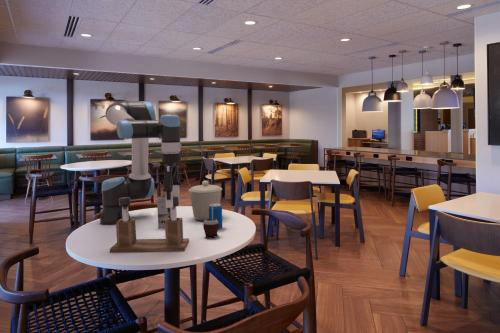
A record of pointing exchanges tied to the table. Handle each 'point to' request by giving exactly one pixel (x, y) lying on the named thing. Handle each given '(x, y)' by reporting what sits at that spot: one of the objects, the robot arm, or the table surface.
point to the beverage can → (216, 213)
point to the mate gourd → (211, 226)
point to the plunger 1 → (124, 207)
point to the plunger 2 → (174, 209)
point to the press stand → (131, 244)
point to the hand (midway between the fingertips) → (173, 203)
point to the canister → (204, 199)
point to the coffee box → (162, 211)
